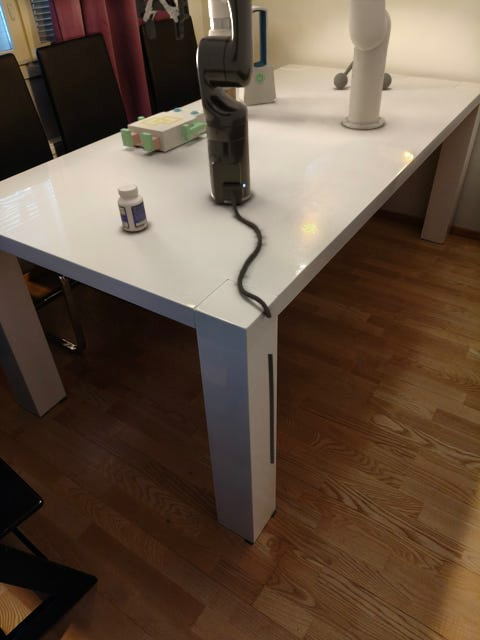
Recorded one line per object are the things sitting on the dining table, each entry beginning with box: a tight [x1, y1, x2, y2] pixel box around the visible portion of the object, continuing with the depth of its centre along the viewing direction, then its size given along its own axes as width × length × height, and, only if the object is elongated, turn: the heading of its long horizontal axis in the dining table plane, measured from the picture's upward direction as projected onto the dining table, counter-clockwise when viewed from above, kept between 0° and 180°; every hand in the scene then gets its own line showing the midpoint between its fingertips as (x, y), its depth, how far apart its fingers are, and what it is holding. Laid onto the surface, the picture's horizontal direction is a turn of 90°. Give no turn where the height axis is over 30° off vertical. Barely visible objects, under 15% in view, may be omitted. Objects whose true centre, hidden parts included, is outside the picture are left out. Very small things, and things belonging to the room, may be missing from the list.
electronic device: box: [238, 5, 277, 106], centre depth 173 cm, size 12×8×30 cm, turn 105°
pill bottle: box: [117, 182, 148, 232], centre depth 102 cm, size 5×5×9 cm
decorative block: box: [120, 107, 206, 153], centre depth 149 cm, size 26×6×20 cm
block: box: [223, 87, 237, 100], centre depth 167 cm, size 4×5×9 cm
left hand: (165, 39), depth 122 cm, fingers open, 8 cm apart
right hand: (226, 83), depth 163 cm, fingers open, 9 cm apart
